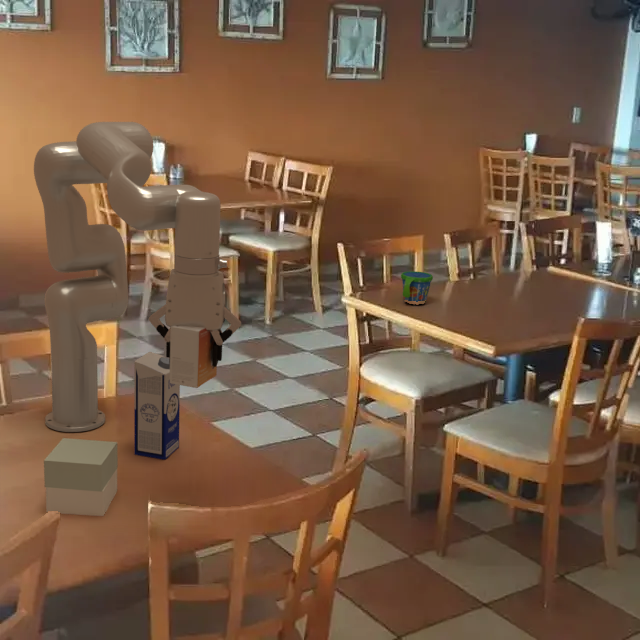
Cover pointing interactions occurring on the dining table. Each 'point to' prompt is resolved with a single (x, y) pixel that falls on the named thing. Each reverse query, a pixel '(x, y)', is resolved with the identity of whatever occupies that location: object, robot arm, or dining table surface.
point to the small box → (191, 356)
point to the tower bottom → (81, 499)
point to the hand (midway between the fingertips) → (193, 362)
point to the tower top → (80, 464)
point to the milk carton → (155, 408)
